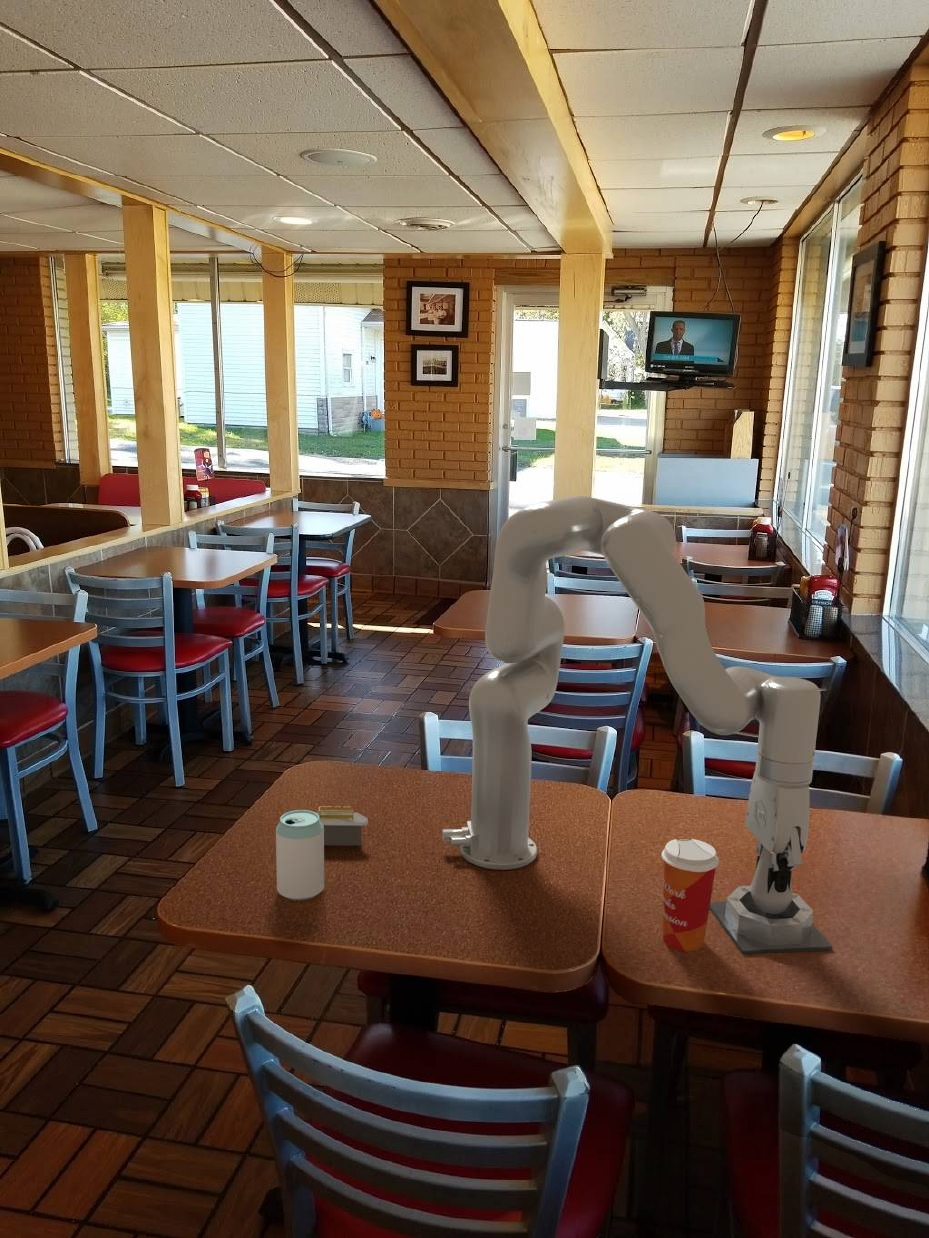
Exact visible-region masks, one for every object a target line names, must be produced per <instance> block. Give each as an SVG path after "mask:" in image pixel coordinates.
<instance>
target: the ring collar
mask: <svg viewBox="0 0 929 1238" xmlns="http://www.w3.org/2000/svg"><path fill="white" fill-rule="evenodd" d="M709 911H710V912H711V913H712V914H713V916H714V917H715V918H716V920H717V921H718V923H719V924H720V925H721V927H722V928H723V930H724V931H725V932H726V934H727V935H728V937H729V936H730V937H729V938H730V940H731V941H732V942H733V943H734V945H735V946H736V948H737V949H738V951H739V952H740V954H742V955H745V956H746V955H760V954H761V955H762V954H763V955H764V954H781V953H784V954H785V953H799V952H800V953H801V952H802V953H803V952H820V951H822V952H823V951H832V950H833V945H832V944H831V943H830V942H829V941H828V940H827V939H826V937H825V936H824V935H823V934H822V932H820V931H819V930H818V928H817V927H816V926H815V924H813V919H814V917H813V916H814V910H813V909H812V908H811V907H810V906H809V904H807V903H806V901H805V900H804V899H803V898H802V897H801V896H800V894H797V893H794V892H793V898H792V901H791V902H790V904H789V905H788V907H787V908H786V910H785V911H784V912H781V913H779V914H771V913H765V912H762V911H761V910H760V909H758V908H757V907H756V906H755V904H754V901H753V898H752V895H751V885H739V886H738V887H737V888H736V889H734V890H733V891H732V892H731V894H729V896H727V897H726V901H710V907H709Z"/></svg>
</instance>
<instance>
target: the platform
mask: <svg viewBox="0 0 929 1238" xmlns="http://www.w3.org/2000/svg"><path fill="white" fill-rule="evenodd" d="M322 808H326V810H324V811H322ZM316 813H317V814H318V815H319V820H320V821H321V823H322V824H323V826H324V846H362V839H363V838H362V828H363V827H364V826H368V823H369V822H368V821H369V819H368V817H366V816H365V815H363V814H361V813H359V812H356V811H355V812H354V809H351V810H350V806H344V811H342V810H340V806H335V810H331V806H329V805H327V806H325V805H323V806H319V807H318V812H316Z"/></svg>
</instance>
